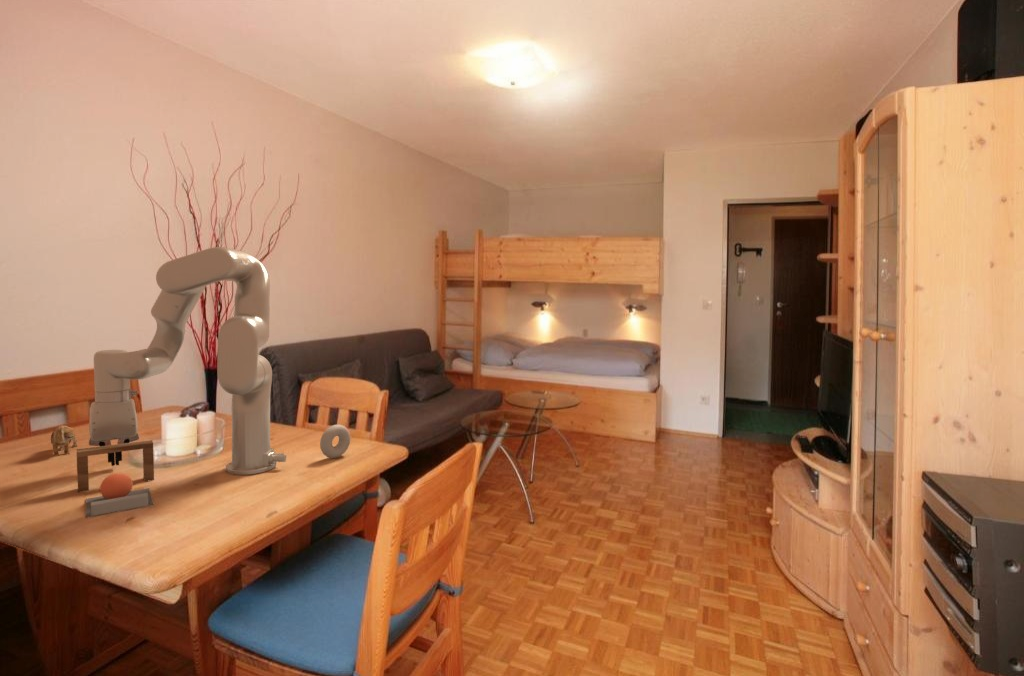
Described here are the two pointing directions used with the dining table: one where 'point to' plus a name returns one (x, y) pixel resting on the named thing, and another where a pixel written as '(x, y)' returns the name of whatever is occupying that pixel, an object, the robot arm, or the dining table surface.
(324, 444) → the donut
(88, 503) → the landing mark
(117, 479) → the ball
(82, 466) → the bridge
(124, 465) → the dining table surface
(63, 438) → the brown toy animal
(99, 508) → the wall
